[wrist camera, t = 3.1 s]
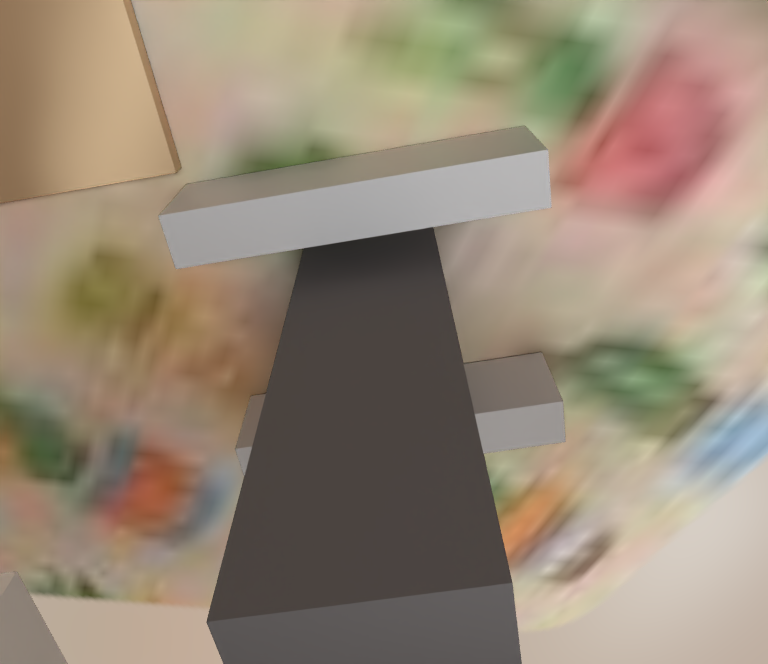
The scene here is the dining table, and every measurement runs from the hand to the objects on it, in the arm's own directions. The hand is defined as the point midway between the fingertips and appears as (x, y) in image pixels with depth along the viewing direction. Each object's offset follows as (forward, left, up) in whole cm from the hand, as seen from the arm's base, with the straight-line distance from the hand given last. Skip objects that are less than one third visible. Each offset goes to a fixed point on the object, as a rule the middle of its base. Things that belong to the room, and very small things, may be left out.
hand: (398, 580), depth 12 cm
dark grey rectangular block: (0, 0, -12) cm, 12 cm away
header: (0, 0, -12) cm, 12 cm away
